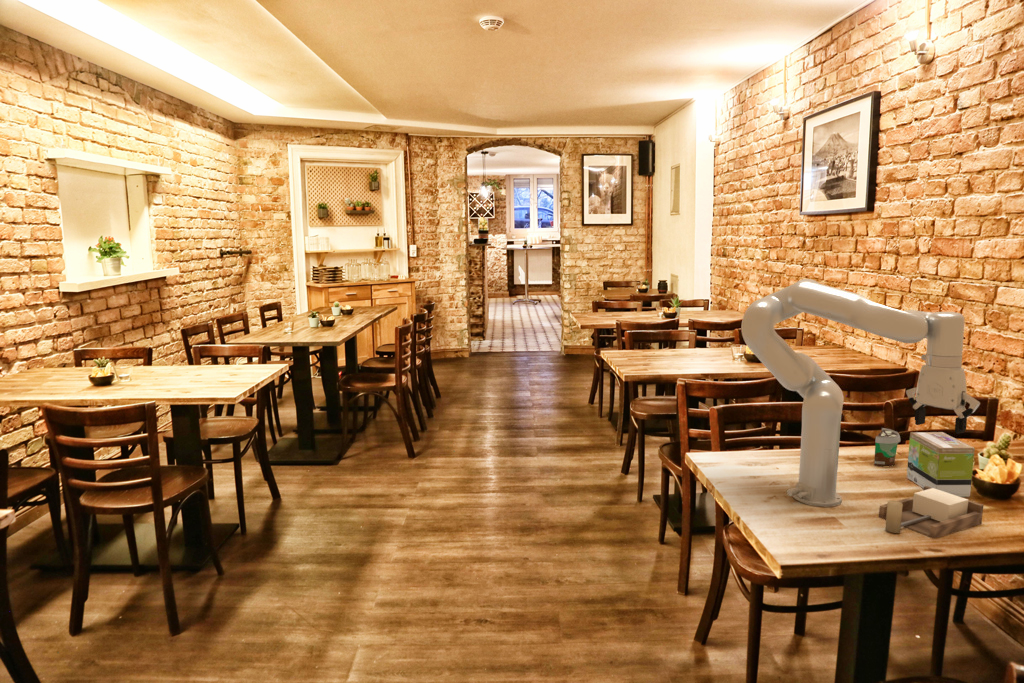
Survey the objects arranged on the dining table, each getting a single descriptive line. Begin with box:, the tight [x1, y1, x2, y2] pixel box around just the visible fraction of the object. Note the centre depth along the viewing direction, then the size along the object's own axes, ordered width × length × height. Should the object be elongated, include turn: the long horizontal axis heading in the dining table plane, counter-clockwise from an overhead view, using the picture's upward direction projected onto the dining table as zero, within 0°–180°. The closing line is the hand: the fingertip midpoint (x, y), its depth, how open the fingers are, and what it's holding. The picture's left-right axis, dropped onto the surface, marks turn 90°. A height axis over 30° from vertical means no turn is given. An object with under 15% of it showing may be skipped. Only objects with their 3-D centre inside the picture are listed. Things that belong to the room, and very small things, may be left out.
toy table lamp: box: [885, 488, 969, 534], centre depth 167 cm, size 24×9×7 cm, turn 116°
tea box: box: [906, 431, 975, 498], centre depth 191 cm, size 15×10×15 cm
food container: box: [873, 427, 901, 467], centre depth 212 cm, size 12×6×10 cm, turn 143°
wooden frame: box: [878, 486, 984, 540], centre depth 169 cm, size 19×14×5 cm
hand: (939, 428), depth 168 cm, fingers open, 9 cm apart
